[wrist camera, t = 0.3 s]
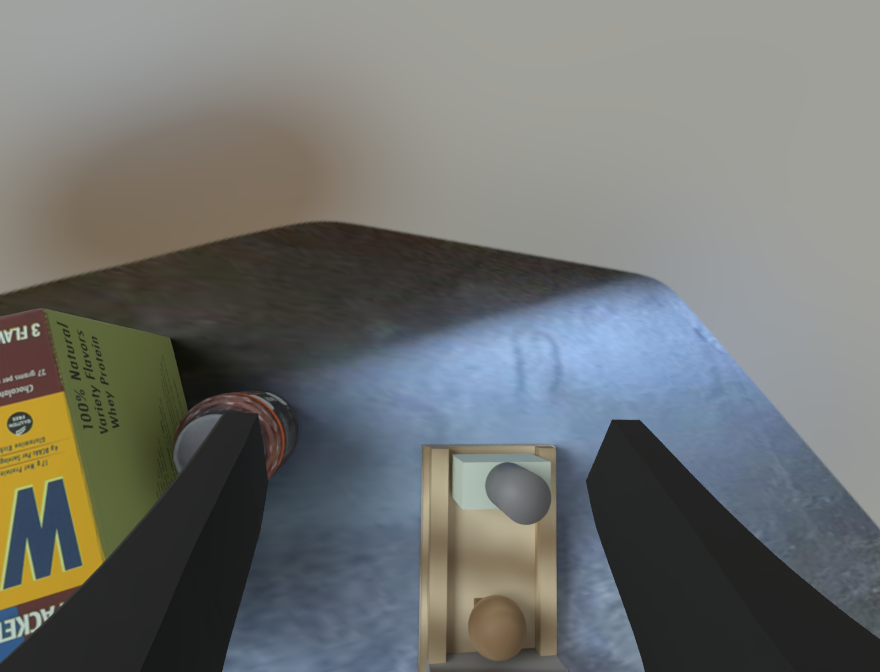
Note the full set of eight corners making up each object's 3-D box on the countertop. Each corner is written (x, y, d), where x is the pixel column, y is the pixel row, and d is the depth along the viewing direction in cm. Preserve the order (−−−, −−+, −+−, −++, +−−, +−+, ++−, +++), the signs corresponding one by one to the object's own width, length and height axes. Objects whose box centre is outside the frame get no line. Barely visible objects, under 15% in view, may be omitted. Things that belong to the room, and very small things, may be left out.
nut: (516, 641, 38) (534, 671, 34) (462, 645, 38) (475, 676, 34) (516, 584, 39) (534, 607, 35) (463, 587, 38) (475, 611, 34)
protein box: (171, 333, 38) (45, 302, 22) (224, 546, 37) (132, 663, 22) (9, 372, 36) (-248, 366, 20) (62, 596, 35) (-162, 763, 20)
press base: (550, 687, 40) (585, 742, 34) (417, 697, 38) (429, 758, 32) (549, 444, 41) (583, 455, 35) (422, 444, 40) (434, 456, 34)
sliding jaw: (531, 494, 39) (575, 523, 31) (451, 496, 38) (476, 526, 30) (530, 453, 39) (575, 471, 32) (451, 454, 38) (477, 473, 31)
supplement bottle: (271, 373, 38) (238, 371, 27) (314, 443, 38) (298, 469, 27) (195, 418, 37) (128, 435, 26) (240, 490, 37) (192, 537, 26)
